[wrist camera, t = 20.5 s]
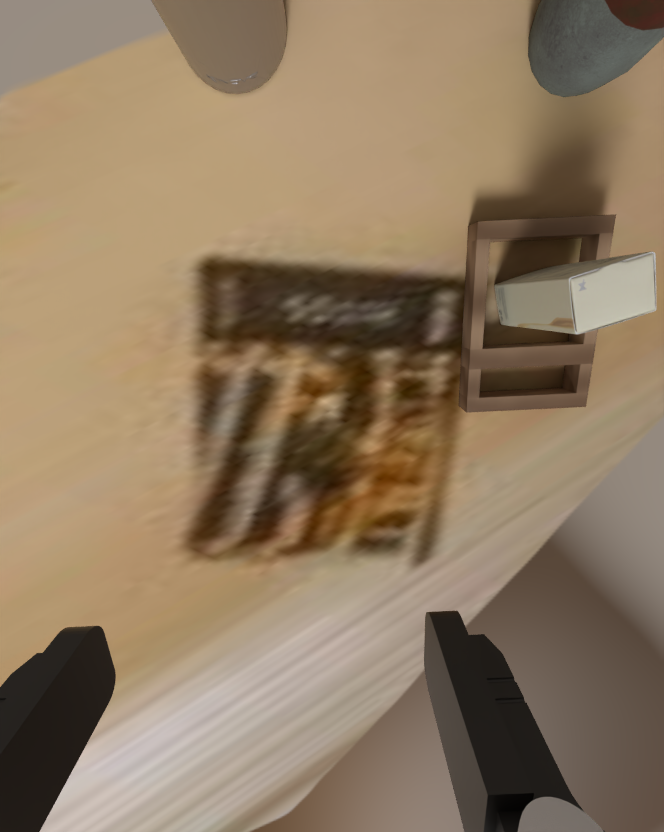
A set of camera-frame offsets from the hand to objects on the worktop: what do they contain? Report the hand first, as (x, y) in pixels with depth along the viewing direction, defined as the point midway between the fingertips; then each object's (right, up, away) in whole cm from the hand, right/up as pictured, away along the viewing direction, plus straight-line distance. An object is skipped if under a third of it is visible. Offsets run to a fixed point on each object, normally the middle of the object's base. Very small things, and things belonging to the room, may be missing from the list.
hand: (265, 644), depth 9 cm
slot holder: (+21, +16, +30) cm, 40 cm away
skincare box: (+22, +18, +30) cm, 41 cm away
